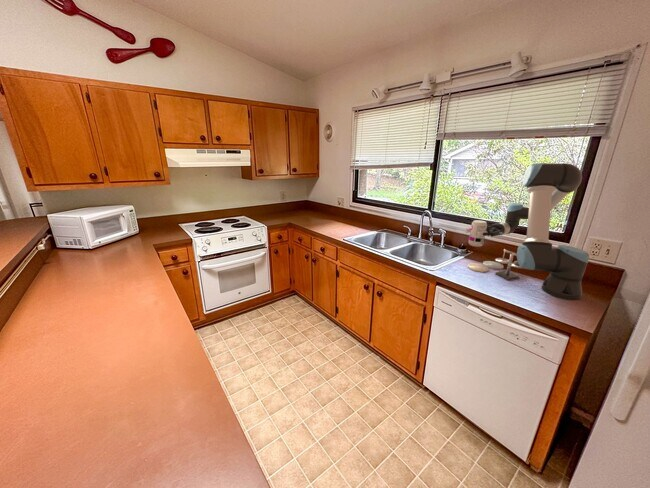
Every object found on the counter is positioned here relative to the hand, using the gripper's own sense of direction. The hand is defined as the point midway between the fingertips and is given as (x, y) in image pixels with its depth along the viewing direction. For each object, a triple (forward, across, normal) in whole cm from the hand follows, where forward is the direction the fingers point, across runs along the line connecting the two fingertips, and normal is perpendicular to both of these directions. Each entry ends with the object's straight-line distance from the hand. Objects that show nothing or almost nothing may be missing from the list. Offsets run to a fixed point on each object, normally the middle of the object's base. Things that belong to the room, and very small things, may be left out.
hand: (472, 232), depth 163 cm
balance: (-5, -24, -20) cm, 31 cm away
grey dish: (-11, -10, -20) cm, 25 cm away
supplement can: (-5, 0, -9) cm, 10 cm away
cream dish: (+1, -9, -20) cm, 22 cm away
